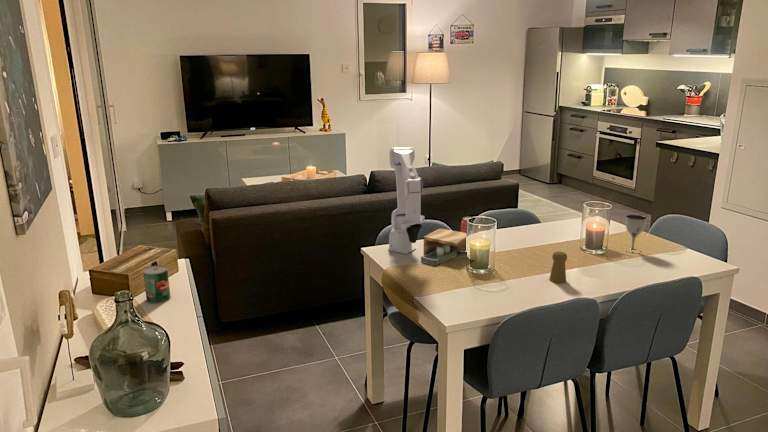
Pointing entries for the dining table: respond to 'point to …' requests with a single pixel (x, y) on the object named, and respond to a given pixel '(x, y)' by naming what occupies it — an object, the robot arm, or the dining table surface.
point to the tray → (437, 260)
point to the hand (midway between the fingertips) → (412, 242)
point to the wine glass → (635, 226)
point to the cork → (558, 267)
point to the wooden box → (444, 240)
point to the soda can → (464, 224)
